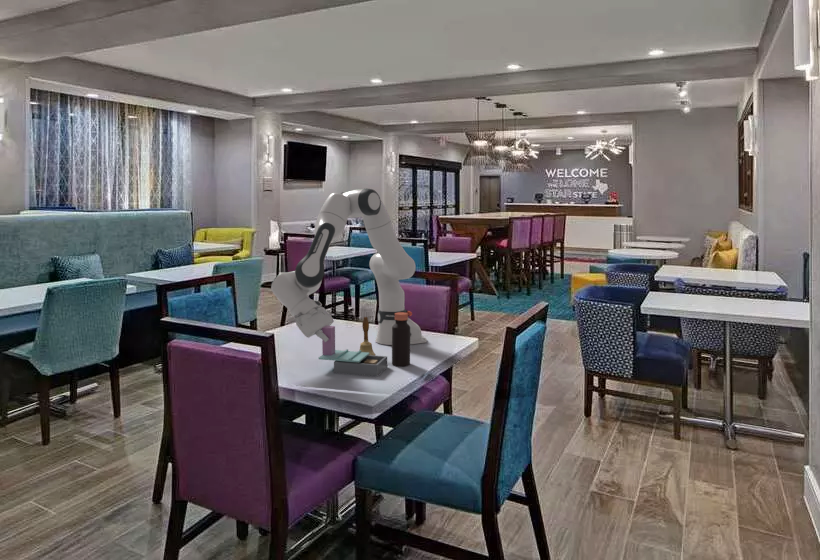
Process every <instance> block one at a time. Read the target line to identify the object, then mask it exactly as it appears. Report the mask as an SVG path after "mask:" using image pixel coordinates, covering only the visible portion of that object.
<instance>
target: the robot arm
mask: <svg viewBox="0 0 820 560" xmlns="http://www.w3.org/2000/svg"><path fill="white" fill-rule="evenodd" d="M350 218H351V219H355V218H362V222H363V224H364V227H365V230H366V231H365V232H366V233H367V236H368V239H369V242H370V245H371V246H372V248H373V249H374V250H375V251H376V253H374V254H373V255H372V256H371V257H370V260H369V265H368V266H369V268H370V270H371V272H372V273H373V276H374V278H375V282H376V284H377V290H378V306H379V307H378V311H377V322H378V326H377V333H376V337H375V340H374V341H375V342H376V343H377V344H381V345H387V346H392V326H393V325H394V324H395V323H396V321H395V313H398V312H404V313H408V321H407V324H408V325H409V326H410V346H411V345H417V344H424V343H425V344H426V343H427V341H428V340H427V338H426V336H424V335H422V330H421V327H420V326H419V324H417V323H416V322H414V321H413V320H412V319H411V318H409V317H411V316H412V315H413V312H412V311H410V310H407V309H406V308H405V299H406V297H405V291H404V289H403V287H402V286H401V283H400V281H401V280H408V279H410V278H412V277H413V275H414V274H415V272H416V268H417V267H416V262H415V260H414V259H413V258H412V257H411V256H410V255H409V254H408V253H407V252H406V251H405V249H404V247H403V246H402V244H401V243H400V241H399V239H398V237H397V235H396V233H395V230H394V227H393V226H394V225H393V224H392V221H391V218H390V215H389V212H388V210H387V208H386V206H385V205H384V203H383V201H382V200H381V197H380V195H379V194H378V192H377V191H376V190H374V189H372V188H363V189H362V188H360V189H352V190H349V191H345V192H332V193H331V194H329V195H328V196H327V198H326V199H325V201H324V202H323V205H322V206H321V207H320V210H319V213H318V215H317V217H316V220H315V225H314V229H313V230H314V231H313V232H314V237H313V240H312V242H311V245H310V246H309V249H308V251H307V253H306V255H305V256H304V257H303V258H302V259H300V261H299V262H298V263H297V264H296V266H295V270H293V271H289V272H288V271H287V272H284V271H282V272H280V273H279V274H278V275H277V276H276V277H275V278H274V279H273V280H272V282H271V286H270V288H271V292H272V293H273V295H274V297H276V299H277V300H278V301H279V302H280V303H281V305H283V306H285V308H286V309H287V310H288V312H289V313H290V315H291V316H292V317H293V318H294V321H295V324H296V326H297V328H298V329H299V330H300V332H301V333H302V334H303V335H304V337H306V338H308V339H309V338H311V337H313V336H317V337H318V338H319V339H321V340H322V339H323V341H324V342H327V341H328V340H329V339H330V338H329V337H328V336H327V335H325V334H324V333H323V332H322V328H323V327H325V326H332V324H333V323H334V322H335V321H334V318H333V317H332V315H331V314H330V313H329V312H328V311H327V309H326V308H325V307H323V306H322V305H323V304H322V303H321V302H320V300H314V299H311V298H310V297H309V296H310V295H313V294H314V293H316V292H317V291H318V290H319V289H320V287H321V284H322V281H323V278H324V275H325V266H324V265H325V264H324V261H325V259H326V255H327V253H328V251H329V248H330V246H331V244H332V243H333V242H335V241H338V240H339V239H340V237H341V235H342V233H343V232H344V229H345V227H346V224H347V221H348V219H350Z"/></svg>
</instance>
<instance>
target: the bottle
mask: <svg viewBox="0 0 820 560" xmlns="http://www.w3.org/2000/svg"><path fill="white" fill-rule="evenodd" d="M408 318H409V317H408V313H404V312H398V313H395V321H396V323H395V324H394V325H393V326H392V345H391V366H393V367H398V368H399V367H400V368H404V367H409V366H410V365H411V345H410V326H409V325H408V324H407V321H408Z"/></svg>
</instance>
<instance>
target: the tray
mask: <svg viewBox="0 0 820 560" xmlns="http://www.w3.org/2000/svg"><path fill="white" fill-rule="evenodd" d="M367 359H371V360H378V363H377V364H364V361H366V360H367ZM387 368H388V356H384V355H375V356H374V355H368V356H367V357H366V358H364V359H363V360H362V361H361V362H359V363H351V362H346V361H333V374H340V375H341V374H342V375H352V376H353V375H354V376H365V377H375V378H376V377H377V378H378V377H379V376H380V375H381V374H382V373H383V372H385V370H386V369H387Z"/></svg>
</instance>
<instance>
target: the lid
mask: <svg viewBox="0 0 820 560" xmlns="http://www.w3.org/2000/svg"><path fill="white" fill-rule="evenodd" d="M322 332H323V333H324V334H325V335H327V336H328V337H329V338H330V339H329V340H328V341H327V342H324V341H323V339H321V340H322V342H321V343H322V344H321V345H322V346H321V347H322V349H321V350H322V355H321V356H319V357H318V360H322V361H332V362H334V361H346V362H358V363H359V362H361V361H362V360H363V359H364V358H366V357H367V356H368V355H369V354H370V353H368V352H361V350H360V349H359V350H358V351H354V350H353V351H351V350H349V349H345V350H341V349H340V350H339V349H336V326H334V325H330V326H325V327H323V328H322Z"/></svg>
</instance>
